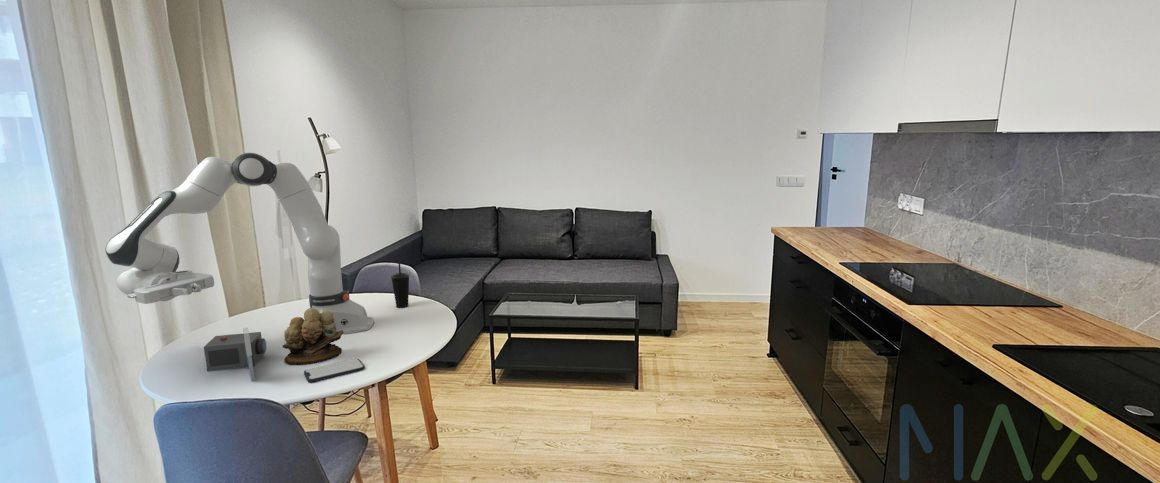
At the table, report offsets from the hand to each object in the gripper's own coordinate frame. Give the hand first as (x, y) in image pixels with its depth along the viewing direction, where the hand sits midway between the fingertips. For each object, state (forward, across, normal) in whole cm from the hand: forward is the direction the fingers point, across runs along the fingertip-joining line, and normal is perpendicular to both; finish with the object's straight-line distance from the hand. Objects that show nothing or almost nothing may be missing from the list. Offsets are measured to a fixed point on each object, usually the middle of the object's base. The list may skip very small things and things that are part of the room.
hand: (193, 290), depth 154 cm
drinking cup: (+17, +72, +26) cm, 79 cm away
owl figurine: (+23, +20, +26) cm, 40 cm away
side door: (+15, +3, +26) cm, 30 cm away
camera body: (+3, +8, +26) cm, 27 cm away
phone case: (+38, +13, +27) cm, 48 cm away
